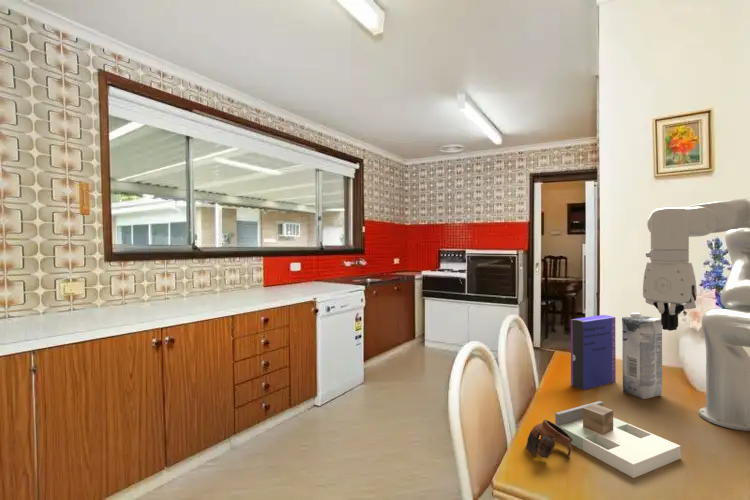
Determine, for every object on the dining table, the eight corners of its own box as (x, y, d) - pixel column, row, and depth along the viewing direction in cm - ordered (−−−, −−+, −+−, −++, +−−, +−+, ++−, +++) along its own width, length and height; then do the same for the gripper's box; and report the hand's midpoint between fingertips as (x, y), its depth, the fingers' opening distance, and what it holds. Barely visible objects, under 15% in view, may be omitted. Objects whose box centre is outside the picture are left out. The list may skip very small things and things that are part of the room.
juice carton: (666, 396, 123) (666, 314, 122) (645, 401, 119) (645, 317, 119) (638, 386, 131) (638, 310, 131) (618, 391, 127) (618, 312, 127)
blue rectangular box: (602, 377, 140) (602, 314, 140) (615, 382, 136) (615, 316, 136) (571, 385, 133) (570, 318, 133) (583, 390, 129) (583, 321, 128)
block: (593, 421, 100) (593, 403, 100) (613, 429, 96) (613, 410, 96) (582, 426, 97) (582, 407, 97) (602, 434, 93) (602, 415, 93)
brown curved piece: (525, 440, 98) (541, 413, 97) (560, 467, 93) (578, 439, 92) (518, 450, 87) (536, 420, 87) (558, 481, 82) (577, 449, 82)
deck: (680, 458, 88) (680, 433, 88) (633, 478, 81) (633, 450, 81) (599, 421, 106) (599, 400, 106) (555, 435, 99) (555, 412, 99)
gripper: (629, 256, 99) (629, 325, 99) (696, 258, 85) (696, 337, 86) (646, 255, 102) (647, 322, 102) (714, 257, 88) (714, 334, 89)
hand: (669, 329), depth 94 cm, fingers closed
